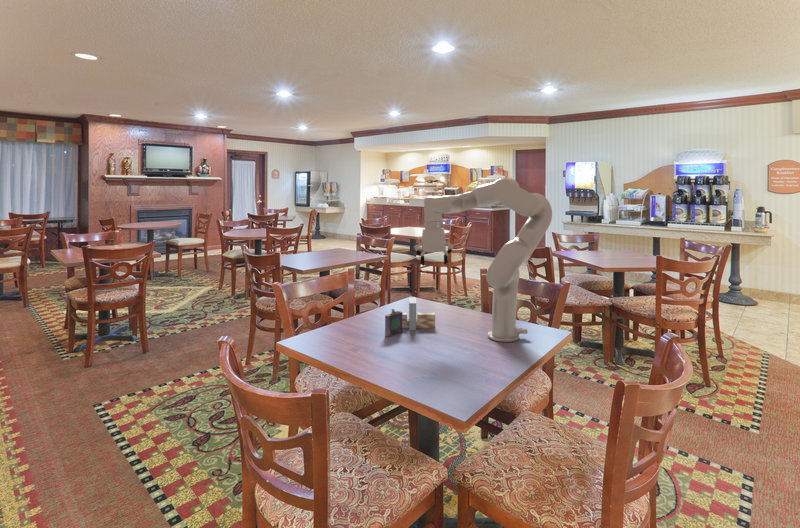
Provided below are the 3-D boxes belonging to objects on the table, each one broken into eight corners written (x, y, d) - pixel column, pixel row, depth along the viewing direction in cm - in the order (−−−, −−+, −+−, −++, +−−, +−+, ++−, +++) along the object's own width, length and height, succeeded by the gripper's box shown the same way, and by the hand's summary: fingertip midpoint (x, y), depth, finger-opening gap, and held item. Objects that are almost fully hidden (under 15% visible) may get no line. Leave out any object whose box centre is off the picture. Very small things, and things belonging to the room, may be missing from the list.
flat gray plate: (409, 323, 201) (409, 297, 199) (415, 323, 201) (415, 297, 199) (409, 330, 191) (409, 303, 189) (416, 330, 191) (416, 303, 189)
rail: (434, 325, 197) (434, 312, 196) (435, 327, 194) (435, 314, 193) (389, 325, 197) (389, 312, 196) (389, 327, 194) (389, 314, 193)
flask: (387, 337, 182) (387, 312, 180) (382, 335, 184) (382, 310, 182) (403, 332, 188) (403, 307, 186) (398, 330, 190) (398, 306, 188)
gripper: (452, 224, 195) (452, 262, 197) (412, 225, 195) (414, 264, 197) (454, 225, 188) (455, 265, 190) (413, 226, 187) (415, 266, 190)
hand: (434, 264), depth 194 cm, fingers open, 9 cm apart
